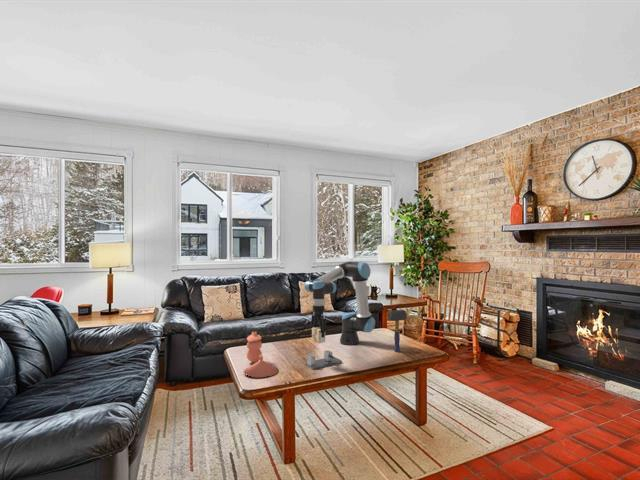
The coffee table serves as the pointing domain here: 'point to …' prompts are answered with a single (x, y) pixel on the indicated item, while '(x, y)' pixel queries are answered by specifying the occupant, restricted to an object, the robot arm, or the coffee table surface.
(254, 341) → the ceramic vessels
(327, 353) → the jaw slide
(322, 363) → the vise
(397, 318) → the rubber mallet
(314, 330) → the block
